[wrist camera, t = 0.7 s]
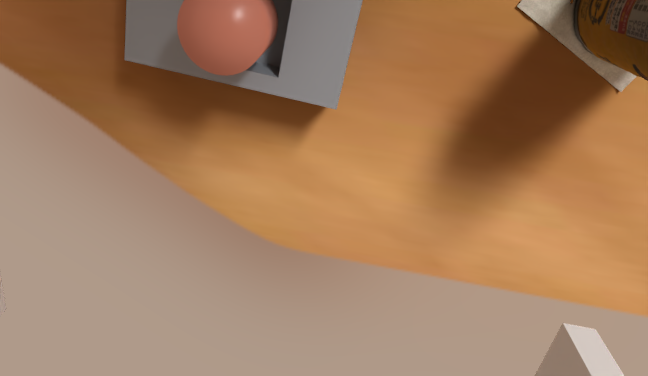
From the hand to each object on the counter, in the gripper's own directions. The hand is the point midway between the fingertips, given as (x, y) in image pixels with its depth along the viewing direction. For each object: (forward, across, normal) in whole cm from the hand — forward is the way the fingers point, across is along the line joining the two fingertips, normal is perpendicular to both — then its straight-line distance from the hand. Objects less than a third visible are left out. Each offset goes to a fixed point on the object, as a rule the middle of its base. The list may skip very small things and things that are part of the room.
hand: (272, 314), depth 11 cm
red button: (+18, -5, +4) cm, 19 cm away
